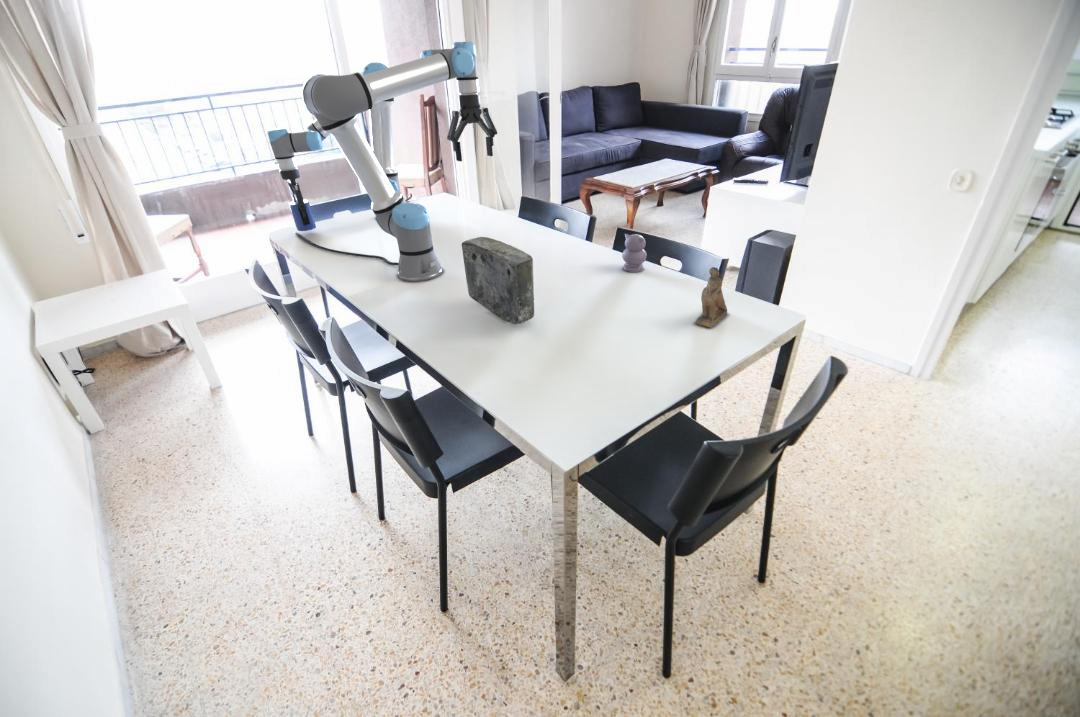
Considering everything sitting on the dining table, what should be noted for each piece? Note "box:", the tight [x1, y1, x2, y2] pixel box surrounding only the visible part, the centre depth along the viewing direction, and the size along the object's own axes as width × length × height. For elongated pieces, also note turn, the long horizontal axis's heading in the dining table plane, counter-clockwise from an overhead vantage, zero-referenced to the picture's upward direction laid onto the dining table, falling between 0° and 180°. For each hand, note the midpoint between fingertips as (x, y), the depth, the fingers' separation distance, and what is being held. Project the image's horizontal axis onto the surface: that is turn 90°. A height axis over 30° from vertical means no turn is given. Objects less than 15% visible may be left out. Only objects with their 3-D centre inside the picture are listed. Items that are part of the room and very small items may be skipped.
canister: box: [288, 199, 317, 232], centre depth 219 cm, size 8×8×12 cm
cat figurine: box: [621, 233, 648, 273], centre depth 170 cm, size 8×8×12 cm
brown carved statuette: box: [695, 266, 728, 328], centre depth 135 cm, size 12×6×18 cm, turn 136°
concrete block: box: [461, 236, 535, 325], centre depth 141 cm, size 27×9×20 cm, turn 36°
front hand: (475, 158), depth 185 cm, fingers open, 13 cm apart
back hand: (304, 222), depth 221 cm, fingers closed on canister, 8 cm apart
